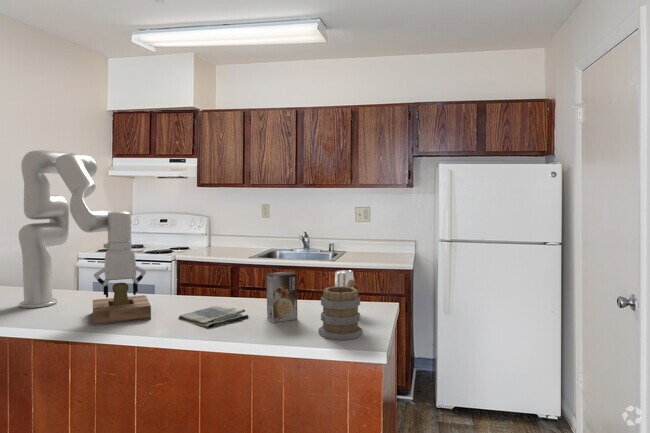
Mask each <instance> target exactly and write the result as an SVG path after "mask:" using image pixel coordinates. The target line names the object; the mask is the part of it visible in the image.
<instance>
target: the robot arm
mask: <svg viewBox="0 0 650 433" xmlns="http://www.w3.org/2000/svg"><path fill="white" fill-rule="evenodd" d="M20 166H21V169H20V170H21V174H22V178H23V213H24V216H25V217H26V218H27V219H28V220H34V221H35V220H38V221H39V220H49V221H48V222H32V223H27V224H25V225H23V226H22V227H21V228H20V229H19V230H18V241H19V245H20V249H21V255H22V256H21V257H22V260H21V261H22V277H23V279H22V280H23V284H22V285H23V300H22V301H20V302H19V303H18V306H19V307H20V308H24V309H35V308H43V307H49V306H53V305H55V304H56V303H58V299H57V298H54V297H53V276H52V273H53V270H52V256H51V254H50V253H49V252H48V250H47V248H49V247H57V246H61V245H64V244H65V243H67V240H68V239H69V238H68V237H69V233H70V232H69V230H70V228H69V227H70V214H71V217H72V219H73V220H74V222H75V223H76V225H77V226H78V228H79V229H80V230H82V232H84V233H89V234H90V233H93V234H94V233H99V232H102V233H103V232H104V233H105V232H107V243H103V248H104V249H107V250H106V251H105V256H104V267H103V268H101V269H99V270H98V271H96V272H95V273H94V274H93V277H94V278H95V280H96V281H97V282H98V283H99V284H100V285H102V286H103V295H104V296H105V299H108V298H109V285H108V284H109V282H110V281H116V280H117V281H119V280H132V296H137V293H138V292H139V290H138V289H139V288H138V286H139V282H141V281H142V279H143V278H144V276H146V273H147V271H146V270H145V269H143V268H141V267H139V266H138V265H137V262H136V255H135V251H134V249H132V215H131V213H130V212H128V211H122V210H121V211H117V210H111V209H110V210H108V209H107V210H105V209H104V210H90V209H89V208H88V206H87V204H86V202H85V200H84V199H86V198H88V197H89V196H90V195H92V194H93V193H94V191H95V190H96V184H95V182H94V180H93V179H92V177H93V176H95V175H96V174H97V170H98V165H97V162H96V161H95V159H94V158H92V156H89V155H86V154H77V153H72V152H67V151H65V152H64V151H55V150H54V151H53V150H46V149H45V150H43V149H41V150H40V149H37V150H31V151H29V152H27V153H25V154H24V156H23V157H22V160H21V165H20ZM46 174H56V175H58V174H59V176H60V178H61V180H62V181H63V183H64V184H65V186H66V187H67V189H68V191H69V192H70V193H71V197H70V200H69V203H68V201H67V199H66V197H64V196H63V195H59V194H51V190H50V189H51V184H50V182H49V180H48V178H47V176H46ZM137 271H138V272H139V273H140V274H139V275H138V277H137ZM102 274H104V279H103V278H101V275H102Z"/></svg>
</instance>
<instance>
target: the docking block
mask: <svg viewBox="0 0 650 433" xmlns="http://www.w3.org/2000/svg"><path fill="white" fill-rule="evenodd" d="M113 300H114V297H110V298H109V297H108V298H97V299H92V326H102V325H112V324H120V323H129V322H137V321H138V322H140V321H149V320H152V306H151V303H150V301H149V299H148V297H147V295H145V294H144V295H143V294H142V295H132V296H131V295H130V296H128V302H129V304H128V305H118V306H113Z"/></svg>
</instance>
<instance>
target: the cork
mask: <svg viewBox="0 0 650 433" xmlns="http://www.w3.org/2000/svg"><path fill="white" fill-rule="evenodd" d="M112 291H113V292H112V293H114V294H113V298H114V300H113V306H118V305H128V304H129V302H128V297H129V296H128V291H129V285H128V283H127V282H116V283H114V284H113V285H112Z"/></svg>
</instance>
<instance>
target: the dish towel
mask: <svg viewBox="0 0 650 433" xmlns="http://www.w3.org/2000/svg"><path fill="white" fill-rule="evenodd" d="M245 312H246V309H244V308H237V307H231V306H224V305H214V306H210V307H206V308H202V309H199V310H193V311H191V312H188V313H184V314H180V315H179V317H178V320H182V321H185V322H187V323H190V324H192V325H194V326H195V325H196V326H199V327H202V328H205V329H209V328H214V327H219V326H224V325H227V324H232V323H234V322H239V321H242V320H245V319H249V315H248V314H244V313H245ZM242 313H243V314H242Z"/></svg>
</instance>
